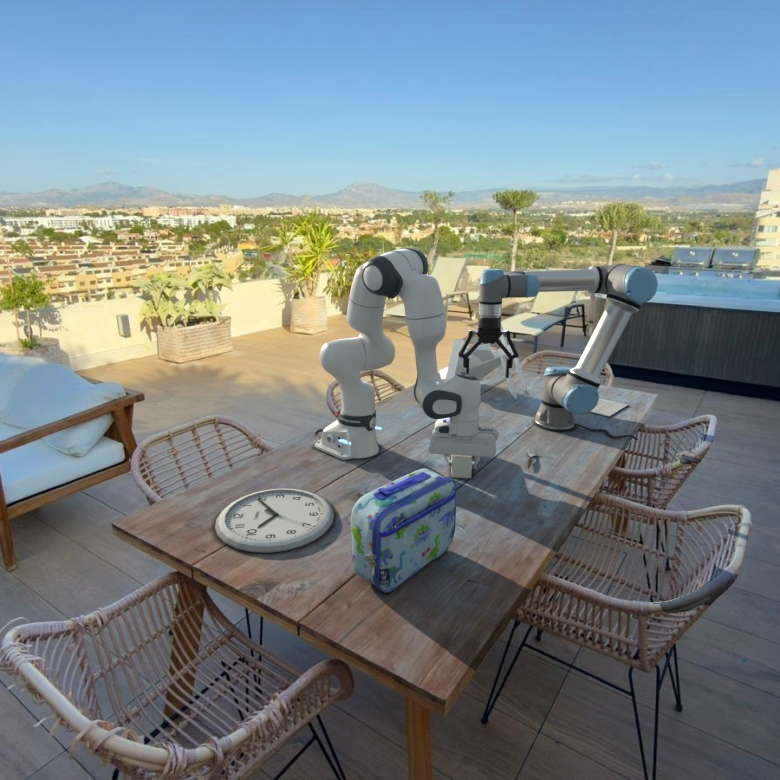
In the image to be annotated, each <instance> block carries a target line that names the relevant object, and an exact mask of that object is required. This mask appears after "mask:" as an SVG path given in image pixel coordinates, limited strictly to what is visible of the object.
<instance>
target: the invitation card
mask: <svg viewBox="0 0 780 780" xmlns="http://www.w3.org/2000/svg"><path fill="white" fill-rule="evenodd" d="M628 406H629V404H627V403H623V402H618V401H614V400H609V399H605V398H601V397H599V401H598V404H597V405H596V407H595V408H594V409H593V410H591V411H590V412H589V413H593V414H596V415H600V416H604V417H608V418H609V417H611V416H613V415H614V414H616V413H617V412H619V411H621V410H623V409H624V408H626V407H628Z"/></svg>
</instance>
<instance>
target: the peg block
mask: <svg viewBox="0 0 780 780" xmlns="http://www.w3.org/2000/svg"><path fill="white" fill-rule="evenodd" d="M450 457H451V459H450V460H452V467H450V468H451V469H450V470H451V472H450V473H451V476H450V478H456V479H457V478H459V479H472V470H473V469H472V462H473V456H463V455H450Z"/></svg>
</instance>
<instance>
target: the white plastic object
mask: <svg viewBox="0 0 780 780" xmlns="http://www.w3.org/2000/svg"><path fill="white" fill-rule="evenodd" d="M501 331H504V328H503V325H502V323H501ZM499 339H500V341H501V342H502V344H503V345H504V346H505V347H506V349H507V350H508V351H509V352H510V354H513V352H512V349H511V347H510V345H509V343H508V341H507V338H506V337H504V335H501V336H500V338H499ZM464 342H465V340H464V339H463V338H460V339H458V338H454V340H453V344H452V349H451V353H450V357H449V362H448V366H446V367H444V368H442V369H440V370H439V371H438V373H439V377H440V379H441V380H442V382H444V381H446V380H448V379H449V378H451V377H452V376H453V375H454V374H455V373H460V372H462V373H466V368H464V367H463V358H462V357H459V355H458V353H459V351H460V349H461V348H462V346H463V344H464ZM490 345H491V344H490V343H488V344H484V343H482V344H480V345H479V346H478V347H477V348H476V349H475V350H474V351H473V352H472V353H471V355H470V356H469V357H468V358H469V374H471V375H473V376H475V377H476V378H477V379H478V380H479V382H480V383H481V382H482V381H484V378H485V377H486V376H487V375H489V374H490V373H492V372H494V371H495V370H496V369H497V368H499V367H500V366H502V370H503V373H504V374H505V373H506V358H509V357H508V356H507V355H506V354H505V352H504V351H503V350H502V349H501V348H500V347H499V348H498V349H496V350H495V349H493V348H492V347H491V346H490ZM470 347H471V346H469V345H468V346H467V348H466V350H465V351H464V353H463V354H465V353H466V352H467V351H468V350H469V348H470ZM513 363H514V366H515V369H516V372H517V376H518V380H519V382H520V385H521V389H522V391H523V393H524V395H525V396H526V397H528V396H531V395H530V390H529V388H528V387H529V386H528V384H527V381H526V378H525V375H524V371H523V369H522V368H523V367H522V366H521V362H520V359H519V357H518V358H514V359H513ZM504 376H505V375H504ZM505 380H506V383H507V386H508V390H509V393H510V394H511V395H512V397H513V398H514V399H515V400H517V392H516V391H517V390H516V388H515V385H514V381H513V378H512V375H511V371H510V370H509V378H506V376H505Z"/></svg>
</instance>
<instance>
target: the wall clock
mask: <svg viewBox="0 0 780 780" xmlns="http://www.w3.org/2000/svg"><path fill="white" fill-rule="evenodd" d="M334 518H335V514H334V509H333V507H332V506H331V504H330V503H329V502H328V501H327V499H325V498H323V497H321V496H320V495H318V494H316V493H313V492H311V491H307V490H304V489H296V488H270V489H265V490H260V491H256V492H252V493H250V494H246V495H244V496H242V497H240V498H238V499H236V500H234V501H232V502H231V503H229V504H228V505H227V506H226V507H224V508H223V509H222V510H221V511H220V513H219V515H218V516H217V518H216V520H215V525H214V529H215V532H216V535H217V538H218V539H220V540H221V541H222V542H223V543H224V544H226V545H228V546H230V547H232V548H234V549H236V550H240V551H245V552H248V553H249V552H250V553H261V554H262V553H265V554H270V553H277V552H287V551H290V550H293V549H298V548H301V547H304V546H306V545H308V544H311V543H312V542H314V541H316V540H317V539H319V538H321V537H322V536H323V535H325V534H326V532H327V531H328V530H329V529H330V528H331V526H332V525H333V522H334Z"/></svg>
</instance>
